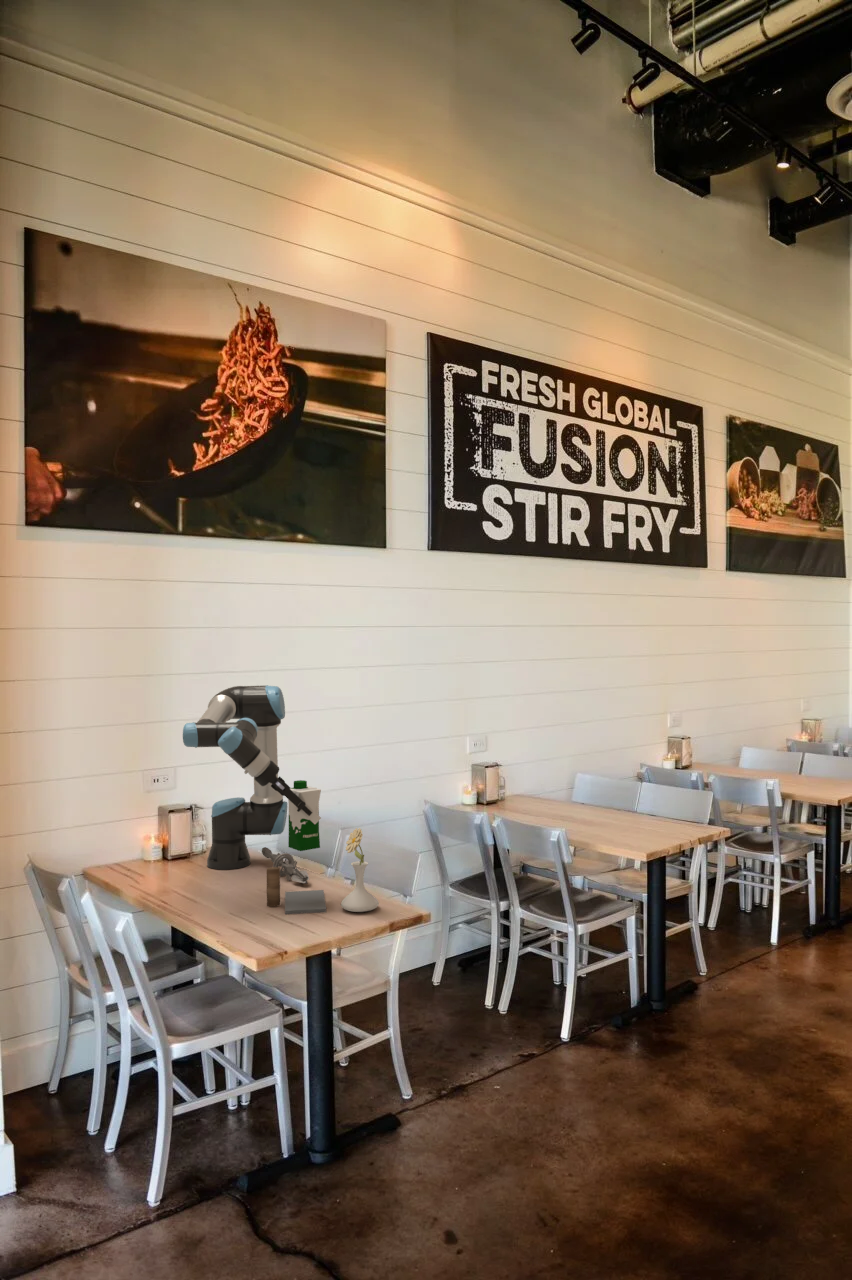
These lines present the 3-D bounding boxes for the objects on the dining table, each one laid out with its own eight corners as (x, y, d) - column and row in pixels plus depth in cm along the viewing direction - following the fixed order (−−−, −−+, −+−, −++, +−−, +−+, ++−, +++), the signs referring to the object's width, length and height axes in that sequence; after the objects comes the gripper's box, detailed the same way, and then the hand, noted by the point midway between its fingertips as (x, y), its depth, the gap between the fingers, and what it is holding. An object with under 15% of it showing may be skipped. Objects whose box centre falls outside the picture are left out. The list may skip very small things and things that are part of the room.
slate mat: (285, 894, 284) (285, 891, 284) (323, 892, 286) (323, 889, 286) (285, 914, 264) (285, 910, 264) (326, 912, 266) (326, 908, 266)
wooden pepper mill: (266, 903, 275) (266, 867, 275) (280, 902, 276) (279, 866, 276) (266, 907, 271) (266, 871, 271) (280, 906, 272) (279, 870, 272)
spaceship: (275, 841, 324) (256, 835, 319) (321, 872, 295) (301, 866, 291) (267, 862, 323) (248, 857, 318) (312, 895, 294) (292, 890, 290)
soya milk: (308, 842, 281) (308, 778, 281) (324, 848, 274) (324, 782, 274) (284, 847, 276) (283, 781, 276) (299, 852, 269) (299, 785, 269)
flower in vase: (341, 904, 274) (340, 822, 274) (378, 903, 275) (378, 821, 275) (340, 917, 261) (339, 831, 261) (379, 916, 262) (378, 830, 262)
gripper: (248, 773, 280) (299, 820, 286) (258, 783, 260) (313, 834, 265) (265, 755, 282) (315, 802, 287) (276, 764, 261) (330, 815, 266)
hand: (314, 817), depth 276 cm, fingers closed on soya milk, 9 cm apart
